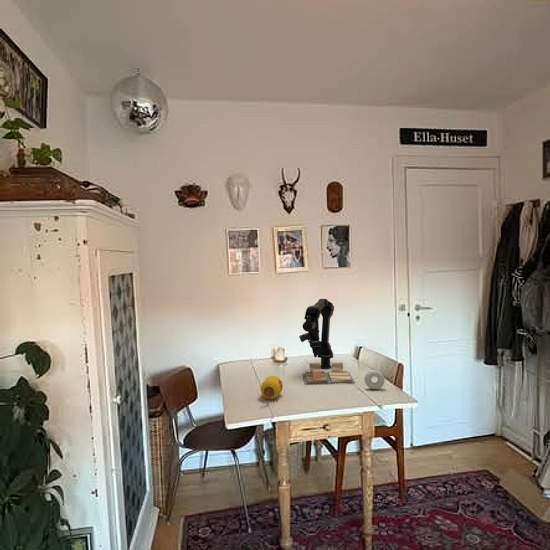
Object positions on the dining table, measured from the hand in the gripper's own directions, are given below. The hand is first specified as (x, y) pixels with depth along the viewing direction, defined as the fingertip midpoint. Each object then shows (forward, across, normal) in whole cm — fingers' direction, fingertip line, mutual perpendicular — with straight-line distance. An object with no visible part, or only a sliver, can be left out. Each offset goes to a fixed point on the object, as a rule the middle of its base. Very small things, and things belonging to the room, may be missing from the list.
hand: (314, 355), depth 238 cm
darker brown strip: (+12, +8, 0) cm, 14 cm away
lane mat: (+12, +7, +6) cm, 15 cm away
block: (+10, +10, 0) cm, 14 cm away
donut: (+12, +28, +28) cm, 41 cm away
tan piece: (+12, +8, +13) cm, 19 cm away
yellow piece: (+12, +34, -24) cm, 44 cm away
